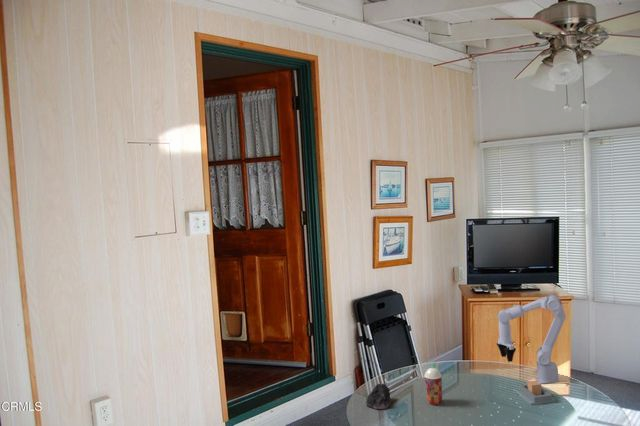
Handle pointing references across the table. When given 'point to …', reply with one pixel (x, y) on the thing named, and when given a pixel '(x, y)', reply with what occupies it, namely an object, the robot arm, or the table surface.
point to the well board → (532, 398)
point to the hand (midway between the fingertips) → (506, 358)
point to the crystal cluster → (379, 397)
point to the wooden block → (534, 387)
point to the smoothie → (433, 385)
